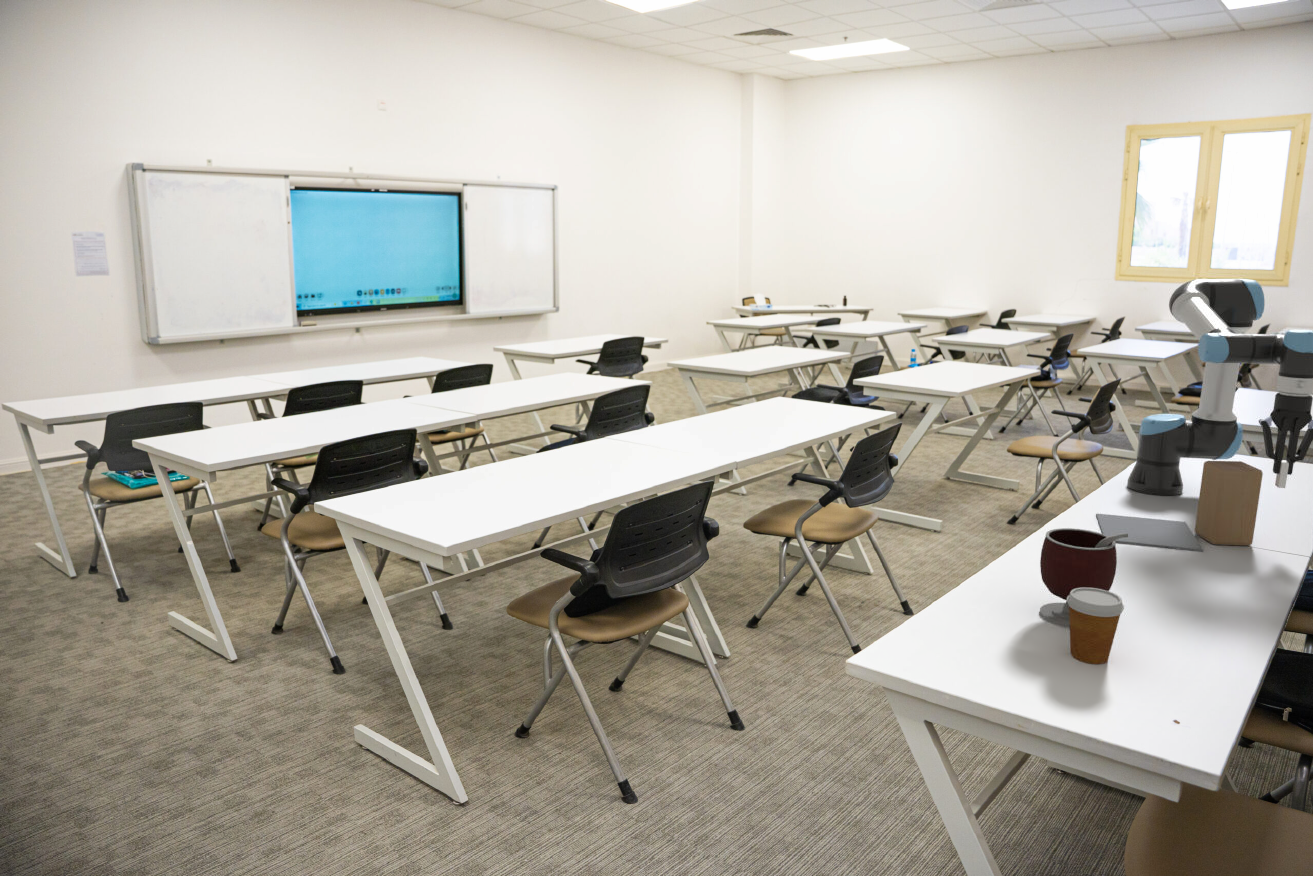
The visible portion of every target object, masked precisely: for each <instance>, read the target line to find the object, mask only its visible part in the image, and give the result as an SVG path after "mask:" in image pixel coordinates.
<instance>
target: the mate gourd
mask: <svg viewBox="0 0 1313 876" xmlns="http://www.w3.org/2000/svg"><path fill="white" fill-rule="evenodd" d="M1123 537H1128V534H1127V533H1125V534H1118V535H1113V536H1107V535H1104V534H1102V532H1101V533H1100V532H1099V531H1098V532H1097V531H1094V530H1093V531H1092V530H1089V529H1088V530H1087V529H1081V528H1071V527H1070V528H1069V527H1067V528H1066V527H1065V528H1055V529H1050V530H1047V532H1046V533H1045V536H1044V540H1043V543H1042V548H1041V550H1040V551H1041V552H1040V560H1039V561H1040V562H1039V563H1040V575H1041V580H1042V582H1043V584H1044V586H1045V587H1046V588H1047V590H1048V591H1049V592H1050V594H1051V595H1054V596H1056V597H1057V598H1059V599H1062V600H1064V601H1065V602H1050V603H1046V604H1043V605H1042V606H1041V607H1040V608H1039V615H1040V616H1042V617H1041V618H1042V619H1043V620H1045V621H1047V622H1048V623H1050V624H1053V625H1054V626H1058V627H1061V628H1065V629H1070V623H1069V605H1068V602H1067V597H1068V596H1069V595H1070V592H1071V590H1073V589H1076V588H1083V587H1085V588H1097V589H1102V590H1106V591H1110V590H1111V588H1112V586H1113V583H1114V580H1115V576H1116V572H1117V571H1116V570H1117V565H1118V564H1117V562H1118V561H1117V560H1118V559H1117V558H1118V557H1117V546H1116V545H1117V544H1116V542H1115V540H1117V539H1119V538H1123Z"/></svg>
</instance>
